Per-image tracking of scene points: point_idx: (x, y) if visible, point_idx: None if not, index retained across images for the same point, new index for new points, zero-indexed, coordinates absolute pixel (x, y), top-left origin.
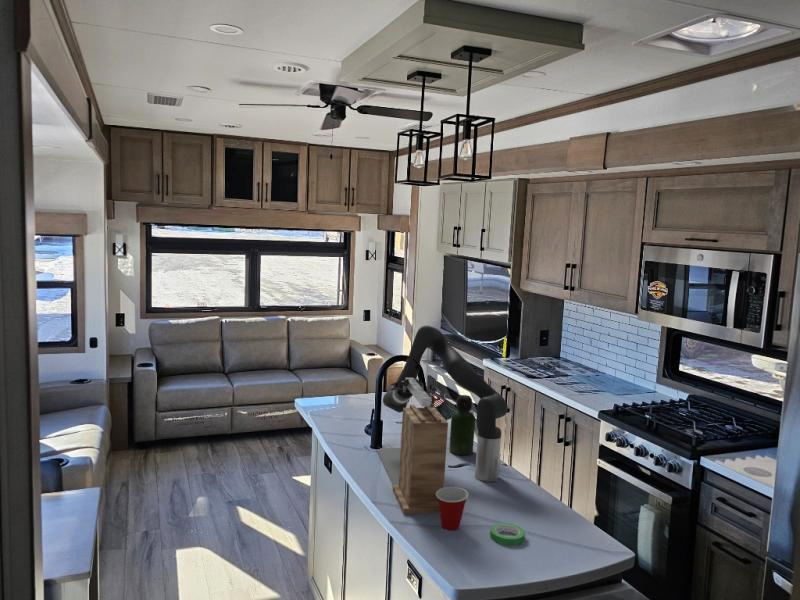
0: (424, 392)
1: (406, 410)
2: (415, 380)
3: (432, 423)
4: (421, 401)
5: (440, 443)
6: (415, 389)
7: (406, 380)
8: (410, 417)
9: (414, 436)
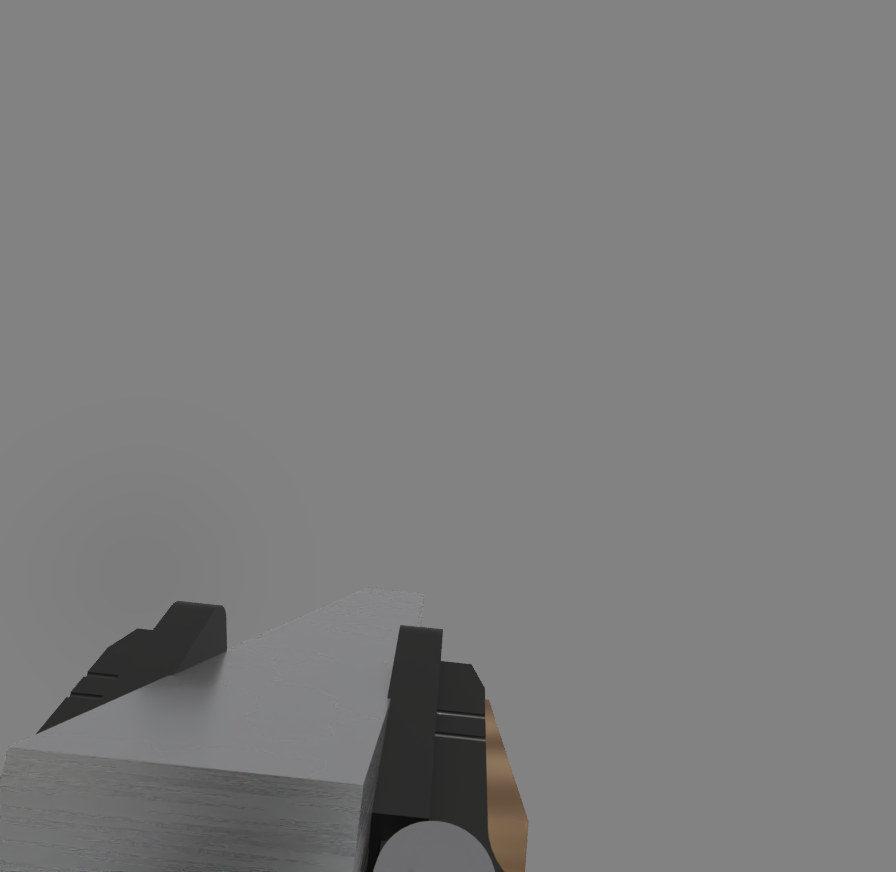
0: (358, 597)
1: (502, 784)
2: (202, 658)
3: None
4: (420, 626)
5: None
6: (416, 612)
7: (441, 673)
8: (494, 727)
9: None
